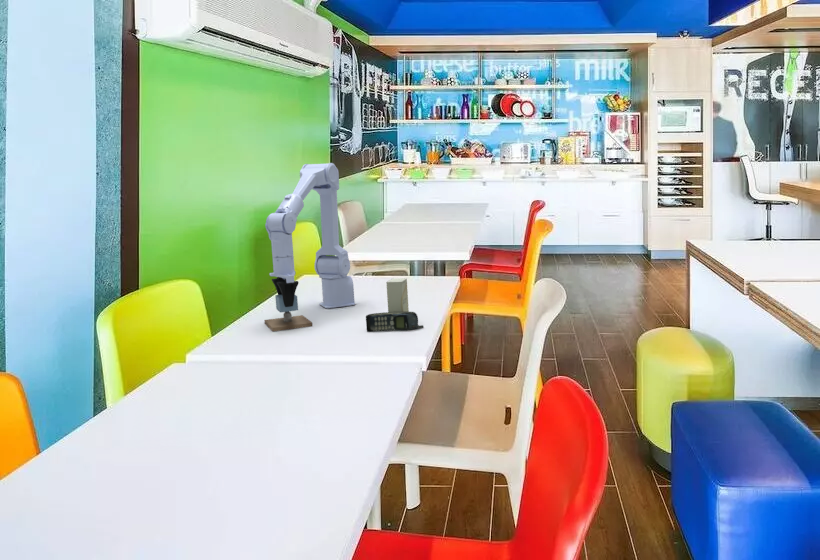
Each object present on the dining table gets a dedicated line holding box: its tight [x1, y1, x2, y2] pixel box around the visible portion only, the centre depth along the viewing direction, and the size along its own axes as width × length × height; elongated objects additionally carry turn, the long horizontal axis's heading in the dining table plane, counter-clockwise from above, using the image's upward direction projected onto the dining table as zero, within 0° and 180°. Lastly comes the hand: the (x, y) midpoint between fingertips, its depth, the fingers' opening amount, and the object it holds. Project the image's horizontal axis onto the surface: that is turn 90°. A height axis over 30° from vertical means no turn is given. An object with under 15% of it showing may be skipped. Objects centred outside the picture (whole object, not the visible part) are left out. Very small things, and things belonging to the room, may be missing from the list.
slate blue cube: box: [274, 294, 299, 313], centre depth 206 cm, size 5×5×4 cm
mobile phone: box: [365, 311, 425, 333], centre depth 195 cm, size 5×3×15 cm
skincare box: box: [386, 277, 410, 312], centre depth 201 cm, size 6×4×12 cm
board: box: [264, 311, 313, 332], centre depth 206 cm, size 11×11×4 cm
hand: (286, 304), depth 206 cm, fingers closed on slate blue cube, 5 cm apart
